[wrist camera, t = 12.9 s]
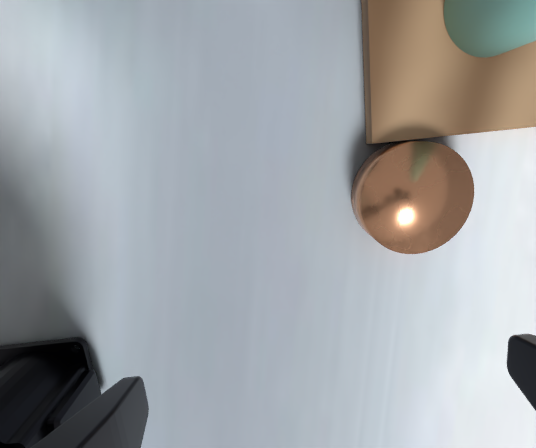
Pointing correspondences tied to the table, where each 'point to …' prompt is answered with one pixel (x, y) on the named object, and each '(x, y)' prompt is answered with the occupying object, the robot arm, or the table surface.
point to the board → (437, 77)
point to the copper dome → (413, 195)
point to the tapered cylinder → (490, 25)
